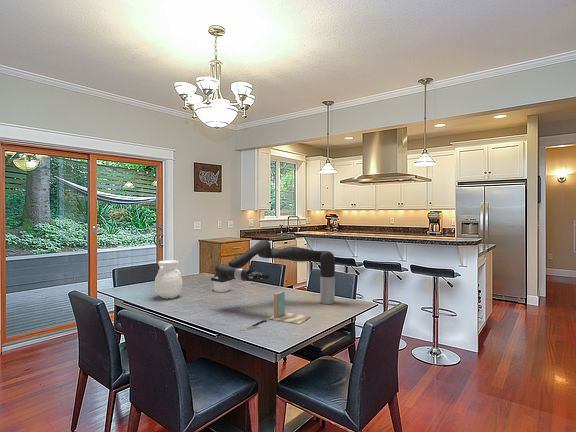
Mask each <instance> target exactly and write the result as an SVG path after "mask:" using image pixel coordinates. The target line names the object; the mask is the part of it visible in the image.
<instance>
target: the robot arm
mask: <svg viewBox="0 0 576 432" xmlns="http://www.w3.org/2000/svg"><path fill="white" fill-rule="evenodd" d="M256 255H257V256H258V257H259V258H262V259H274V260H275V259H278V260H286V261H287V260H288V261H290V262H291V261H293V262H298V263H299V262H301V263H302V262H303V263H304V262H313V263H320V267H319V268H320V274H319V276H320V277H319V278H320V280H319V281H320V284H319V285H320V287H319V288H320V294H319V295H320V296H319V297H320V299H319V301H320V304H322V305H333V304H335V302H336V301H335V300H336V299H335V290H336V289H335V285H336V283H335V281H336V280H335V277H336V276H335V273H336V272H335V271H336V257H335V255H334V253H333V252H331V251H329V250H313V249H308V248H306V247H305V248H304V247H299V246H287V247H283V248H272V245H271V242H270V241H269V240H267V239H262V240H260V241H258V242H256V243H255V244H254V245H253V246H251V247H250V248H249V249H248V250H246V251H245V252H243V253H241V255H238V256H237V257H235V258H233V259H231V260H230V261H229V262H228V264H225V263H218V264H217V265H216V266H214V271H215V273H216V274H217V277H218V279H219V280H220V281H224V280H227V279H228V278H230V279H232V280H237V281H240V282H251V281H252V280H262V279H263V280H264V279H265V280H268V279H270V274H266V273H265V272H263V271H260V272H258V271H254V270H253V269H252V268H246V267H244V266H246V265H248V263H250V261H251V260H252V259H253V258H254V257H255V256H256ZM216 274H215V275H216Z"/></svg>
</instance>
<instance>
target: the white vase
mask: <svg viewBox="0 0 576 432" xmlns="http://www.w3.org/2000/svg"><path fill="white" fill-rule="evenodd" d="M157 264H158V267H159V269H158V271H157V274H156V275H155V279H154V284H153V285H154V290H155V292H156V293H157V295H158V296H159V297H161V299H164V298H166V299H167V300H168V298H171V299H175V298H176V297H177V296H178V295H179V294H180V292H181V290H182V287H183V277H182V273H181V271H180V270H179V269H178V265H179V260H175V259H173V260H171V259H168V260H159V261H158V262H157ZM166 299H165V300H166Z"/></svg>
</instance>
